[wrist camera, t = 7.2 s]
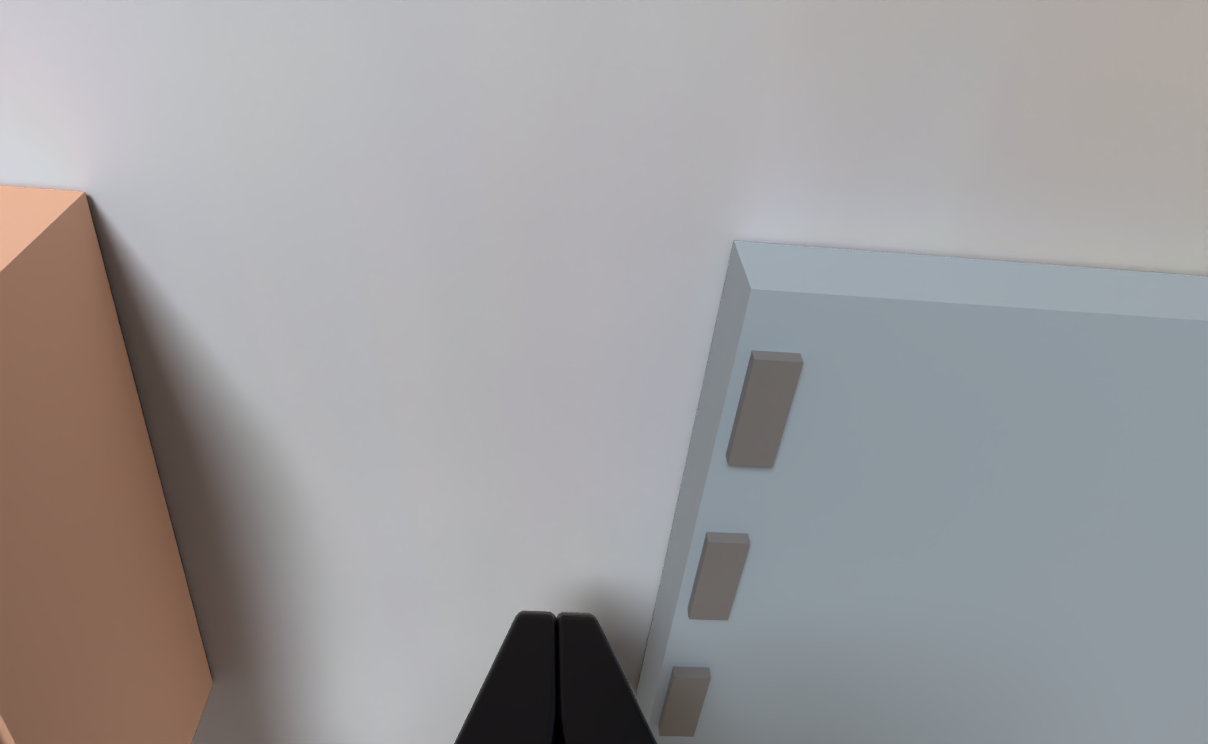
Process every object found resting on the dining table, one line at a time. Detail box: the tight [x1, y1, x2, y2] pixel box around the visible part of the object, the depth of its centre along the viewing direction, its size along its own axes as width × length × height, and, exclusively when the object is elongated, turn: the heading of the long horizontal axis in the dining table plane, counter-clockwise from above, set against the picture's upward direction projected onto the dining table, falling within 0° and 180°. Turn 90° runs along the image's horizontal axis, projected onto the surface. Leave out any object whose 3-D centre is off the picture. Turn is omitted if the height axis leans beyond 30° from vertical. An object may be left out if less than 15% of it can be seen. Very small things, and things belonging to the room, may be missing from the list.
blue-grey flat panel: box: [637, 241, 1208, 744], centre depth 11 cm, size 10×8×1 cm
